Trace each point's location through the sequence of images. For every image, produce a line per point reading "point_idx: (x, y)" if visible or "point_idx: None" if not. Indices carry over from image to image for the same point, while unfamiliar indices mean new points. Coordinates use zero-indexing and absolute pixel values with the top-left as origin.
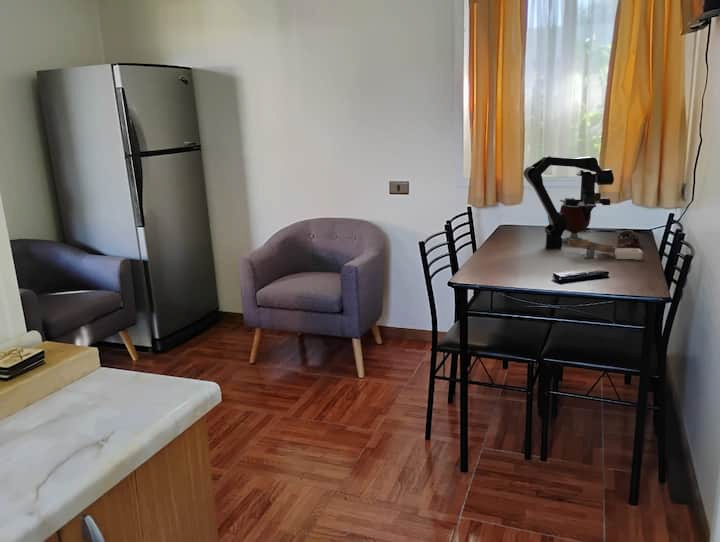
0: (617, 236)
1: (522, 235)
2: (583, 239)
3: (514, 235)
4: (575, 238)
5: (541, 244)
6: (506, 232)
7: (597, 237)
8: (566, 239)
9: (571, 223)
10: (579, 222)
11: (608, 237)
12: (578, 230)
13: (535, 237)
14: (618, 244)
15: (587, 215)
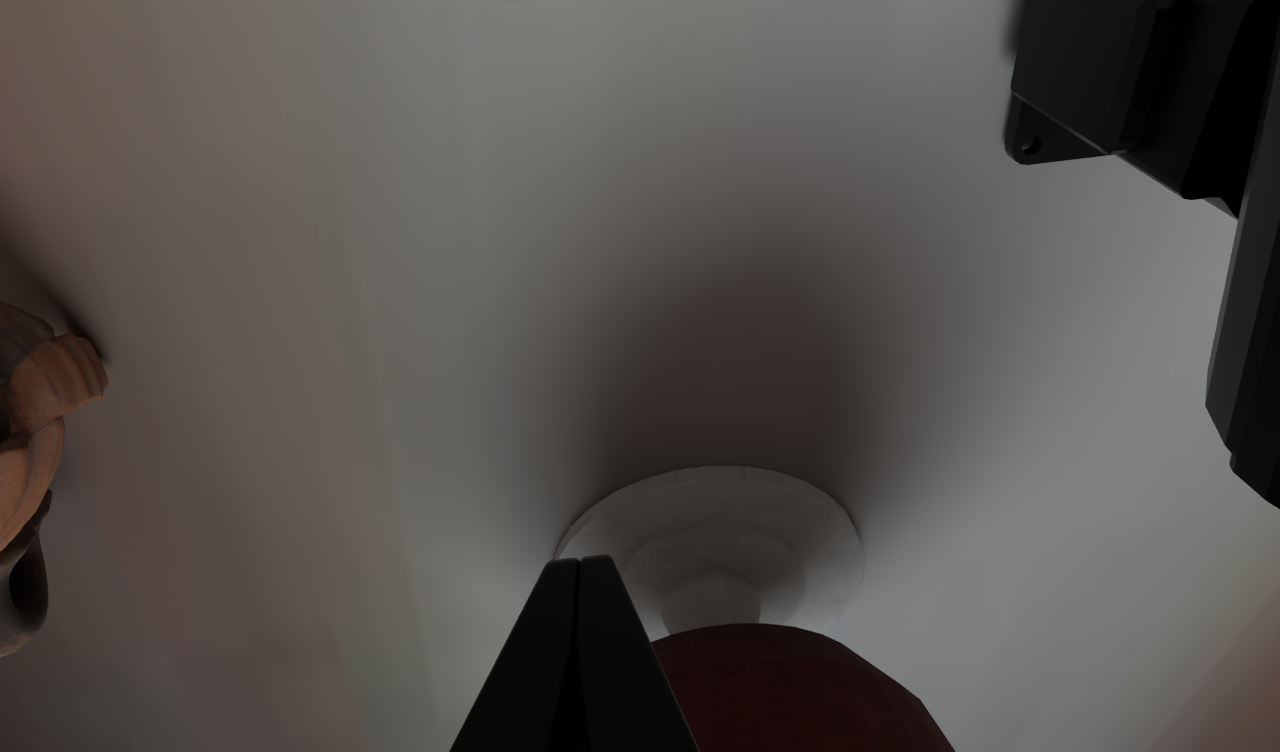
0: (17, 452)
1: (1181, 676)
2: None
3: (1262, 667)
4: (695, 574)
5: (1208, 296)
6: (1263, 743)
7: (456, 702)
8: (800, 552)
9: (834, 713)
10: (697, 741)
11: (349, 715)
12: (683, 633)
13: (1091, 627)
14: (46, 323)
15: (531, 732)
